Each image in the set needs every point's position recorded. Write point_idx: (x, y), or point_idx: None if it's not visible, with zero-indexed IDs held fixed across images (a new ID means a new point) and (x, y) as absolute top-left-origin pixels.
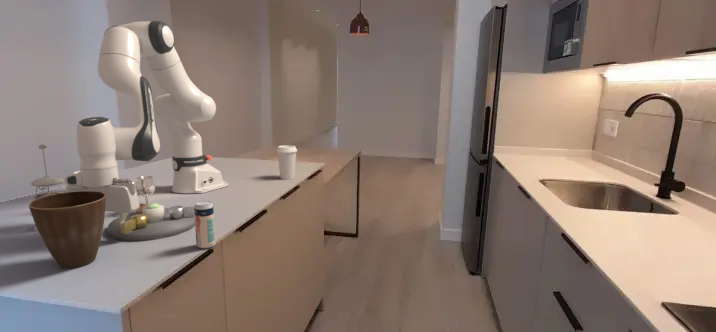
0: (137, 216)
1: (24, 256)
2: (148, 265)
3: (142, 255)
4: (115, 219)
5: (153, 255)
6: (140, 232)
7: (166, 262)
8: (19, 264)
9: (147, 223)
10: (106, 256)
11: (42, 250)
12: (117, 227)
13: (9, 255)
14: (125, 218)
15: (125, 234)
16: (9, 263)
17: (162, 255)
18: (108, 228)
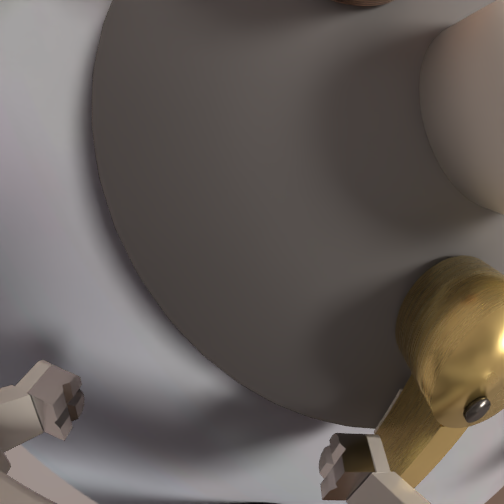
0: (490, 379)
1: (63, 464)
2: (463, 497)
3: (452, 475)
4: (98, 83)
5: (480, 465)
6: None
7: (499, 476)
8: (107, 500)
9: (484, 215)
10: (339, 500)
11: (61, 440)
12: (256, 324)
13: (22, 443)
14: (181, 35)
15: (378, 425)
16: (77, 488)
17: (500, 458)
18: (176, 321)
